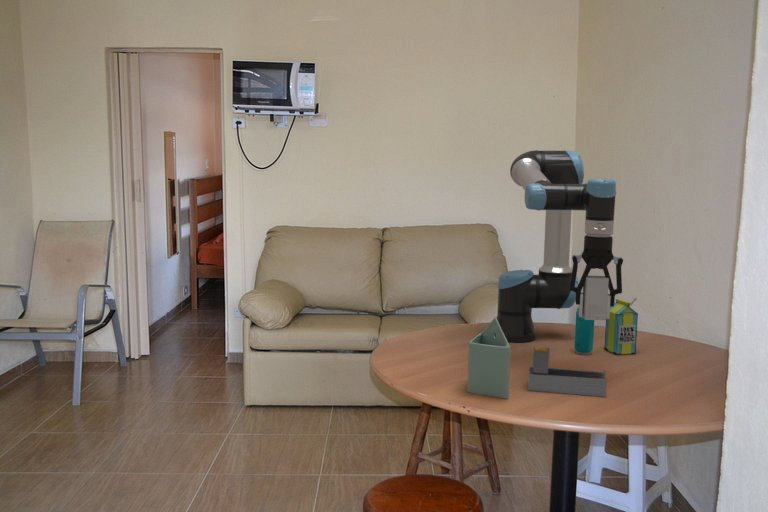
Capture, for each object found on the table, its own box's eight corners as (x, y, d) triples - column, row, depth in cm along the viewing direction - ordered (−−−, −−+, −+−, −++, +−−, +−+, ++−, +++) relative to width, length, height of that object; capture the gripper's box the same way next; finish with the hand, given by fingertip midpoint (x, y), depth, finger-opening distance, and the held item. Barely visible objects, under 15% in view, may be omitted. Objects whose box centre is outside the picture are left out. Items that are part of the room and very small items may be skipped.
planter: (454, 383, 197) (456, 313, 195) (480, 380, 200) (482, 311, 198) (481, 402, 182) (484, 326, 180) (509, 398, 185) (511, 324, 182)
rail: (529, 382, 199) (530, 344, 198) (603, 388, 194) (606, 349, 193) (528, 390, 192) (529, 351, 190) (605, 396, 187) (608, 357, 186)
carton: (638, 354, 230) (641, 298, 227) (616, 355, 228) (619, 299, 226) (625, 348, 237) (628, 294, 235) (604, 349, 235) (607, 295, 233)
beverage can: (585, 350, 234) (588, 305, 232) (596, 354, 229) (598, 308, 227) (570, 351, 232) (572, 306, 230) (580, 356, 227) (583, 309, 225)
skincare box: (602, 317, 203) (605, 275, 201) (606, 321, 198) (610, 278, 196) (580, 316, 203) (583, 274, 201) (584, 320, 198) (587, 277, 196)
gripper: (562, 235, 195) (558, 317, 199) (637, 238, 191) (631, 322, 194) (562, 232, 203) (558, 311, 206) (634, 235, 198) (629, 316, 202)
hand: (593, 316), depth 200 cm, fingers closed on skincare box, 7 cm apart
